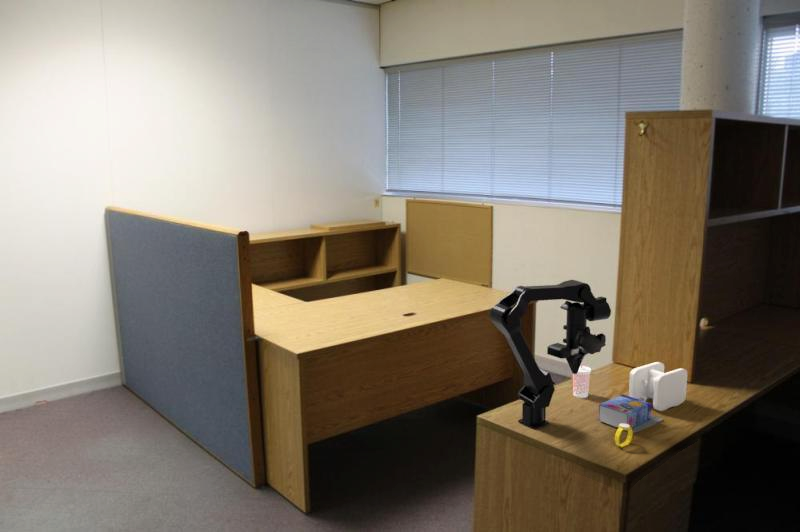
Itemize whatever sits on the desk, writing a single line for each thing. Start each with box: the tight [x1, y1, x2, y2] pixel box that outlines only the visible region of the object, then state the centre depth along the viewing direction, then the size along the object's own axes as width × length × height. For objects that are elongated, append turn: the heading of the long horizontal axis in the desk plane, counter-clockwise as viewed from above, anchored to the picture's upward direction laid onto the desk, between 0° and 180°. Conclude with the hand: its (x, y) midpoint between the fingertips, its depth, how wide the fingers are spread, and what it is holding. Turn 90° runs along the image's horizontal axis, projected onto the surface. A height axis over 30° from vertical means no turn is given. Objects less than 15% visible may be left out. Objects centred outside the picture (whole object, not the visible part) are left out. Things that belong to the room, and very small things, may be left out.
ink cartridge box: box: [598, 394, 652, 432], centre depth 196 cm, size 10×6×14 cm
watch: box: [614, 423, 634, 448], centre depth 181 cm, size 6×3×6 cm, turn 124°
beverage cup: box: [572, 359, 592, 399], centre depth 216 cm, size 6×6×14 cm
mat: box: [597, 413, 665, 434], centre depth 197 cm, size 15×12×1 cm
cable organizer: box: [628, 361, 688, 412], centre depth 208 cm, size 15×11×12 cm
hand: (574, 373), depth 200 cm, fingers closed
